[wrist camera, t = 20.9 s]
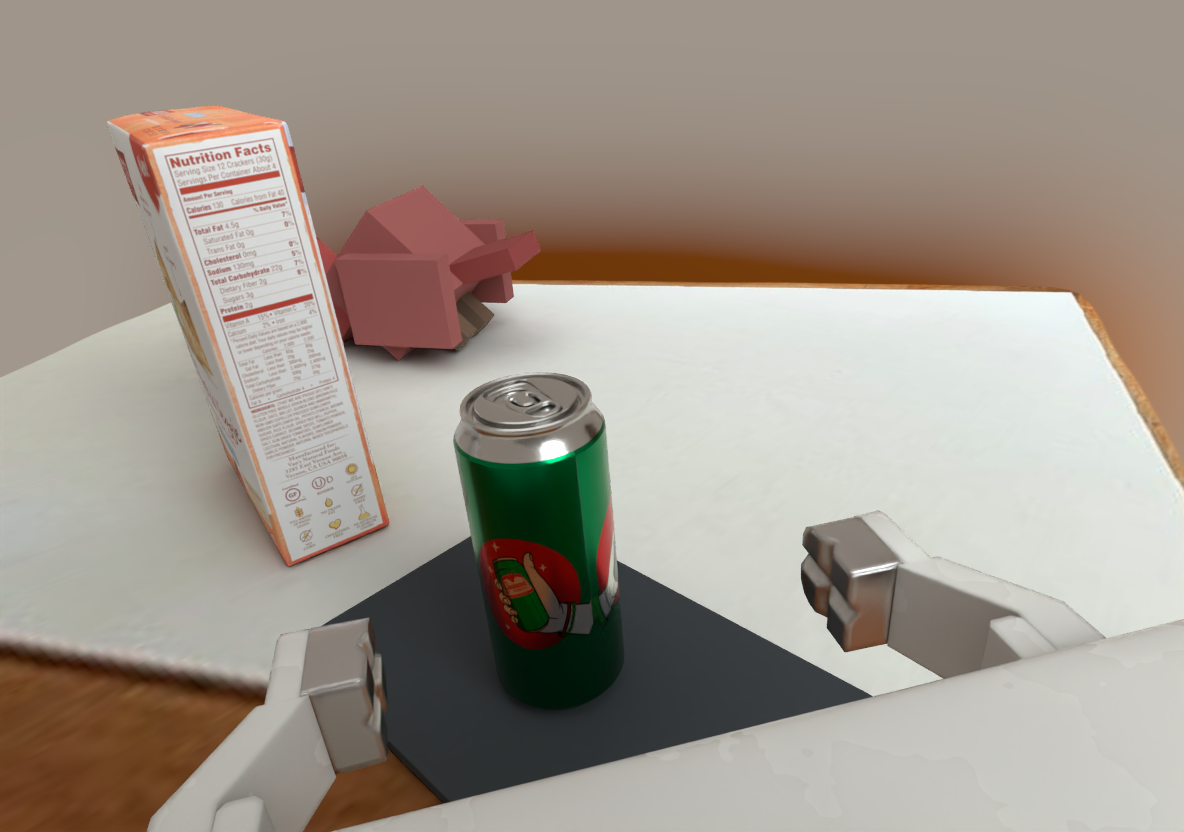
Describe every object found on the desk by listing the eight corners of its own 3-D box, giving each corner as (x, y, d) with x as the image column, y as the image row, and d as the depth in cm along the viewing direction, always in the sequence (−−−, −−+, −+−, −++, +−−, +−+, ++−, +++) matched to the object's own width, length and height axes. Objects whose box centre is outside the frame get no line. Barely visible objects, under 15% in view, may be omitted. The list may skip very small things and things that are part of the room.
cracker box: (222, 466, 49) (99, 116, 40) (317, 435, 52) (223, 101, 43) (279, 575, 39) (131, 135, 29) (394, 528, 42) (292, 112, 32)
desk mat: (293, 654, 34) (290, 643, 33) (519, 516, 42) (517, 507, 41) (642, 1003, 21) (641, 990, 21) (872, 707, 29) (874, 696, 28)
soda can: (573, 607, 34) (543, 355, 29) (652, 671, 30) (634, 396, 25) (474, 666, 31) (419, 401, 26) (547, 744, 28) (502, 454, 22)
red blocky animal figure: (442, 380, 75) (237, 200, 72) (566, 234, 65) (331, 14, 61) (377, 444, 65) (135, 238, 62) (512, 283, 54) (227, 23, 51)
